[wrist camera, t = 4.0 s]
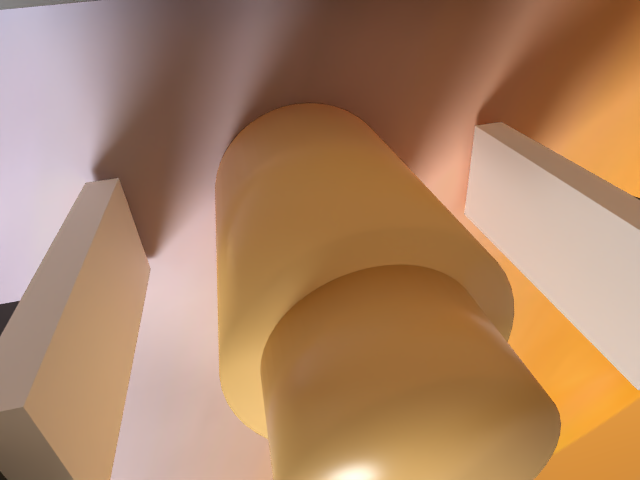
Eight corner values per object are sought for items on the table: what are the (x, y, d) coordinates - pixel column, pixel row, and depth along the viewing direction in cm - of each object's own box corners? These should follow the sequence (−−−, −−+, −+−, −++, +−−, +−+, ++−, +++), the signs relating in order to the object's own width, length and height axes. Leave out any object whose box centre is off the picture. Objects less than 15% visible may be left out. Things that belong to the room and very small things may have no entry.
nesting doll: (233, 278, 13) (257, 609, 6) (196, 117, 10) (174, 395, 4) (389, 249, 14) (557, 523, 7) (392, 91, 11) (665, 291, 4)
